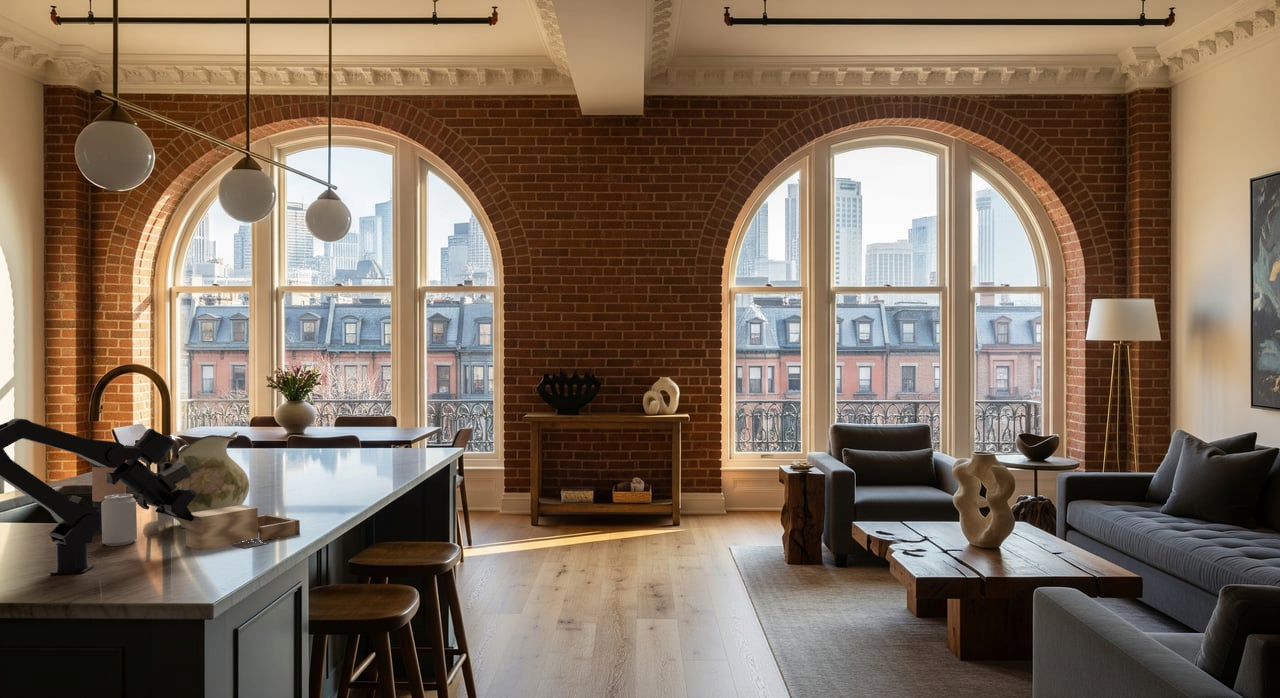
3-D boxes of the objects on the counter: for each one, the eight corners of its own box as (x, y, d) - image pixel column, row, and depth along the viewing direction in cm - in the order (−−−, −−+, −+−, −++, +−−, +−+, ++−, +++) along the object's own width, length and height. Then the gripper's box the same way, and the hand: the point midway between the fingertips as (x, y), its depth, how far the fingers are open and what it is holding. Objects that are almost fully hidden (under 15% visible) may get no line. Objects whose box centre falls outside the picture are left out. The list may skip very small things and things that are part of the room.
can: (121, 547, 214) (119, 498, 214) (94, 546, 216) (93, 497, 216) (144, 540, 221) (143, 492, 221) (118, 539, 223) (117, 492, 223)
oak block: (201, 550, 209) (201, 517, 209) (186, 546, 214) (185, 513, 214) (258, 539, 220) (257, 507, 220) (242, 535, 225) (241, 504, 225)
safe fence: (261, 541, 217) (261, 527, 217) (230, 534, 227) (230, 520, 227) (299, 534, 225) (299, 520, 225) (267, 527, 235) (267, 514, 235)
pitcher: (248, 527, 235) (245, 433, 235) (148, 536, 226) (145, 439, 226) (251, 513, 256) (249, 428, 256) (160, 522, 247) (157, 433, 247)
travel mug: (88, 535, 229) (87, 458, 229) (98, 529, 236) (96, 455, 236) (121, 533, 231) (120, 457, 231) (130, 527, 238) (128, 453, 238)
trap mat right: (244, 548, 210) (244, 547, 210) (231, 545, 213) (231, 544, 213) (268, 543, 214) (268, 542, 214) (255, 540, 218) (255, 540, 218)
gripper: (185, 455, 201) (234, 495, 210) (149, 450, 213) (196, 489, 222) (150, 494, 195) (202, 534, 204) (115, 487, 207) (165, 526, 216)
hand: (192, 519), depth 211 cm, fingers closed, pressing on oak block
